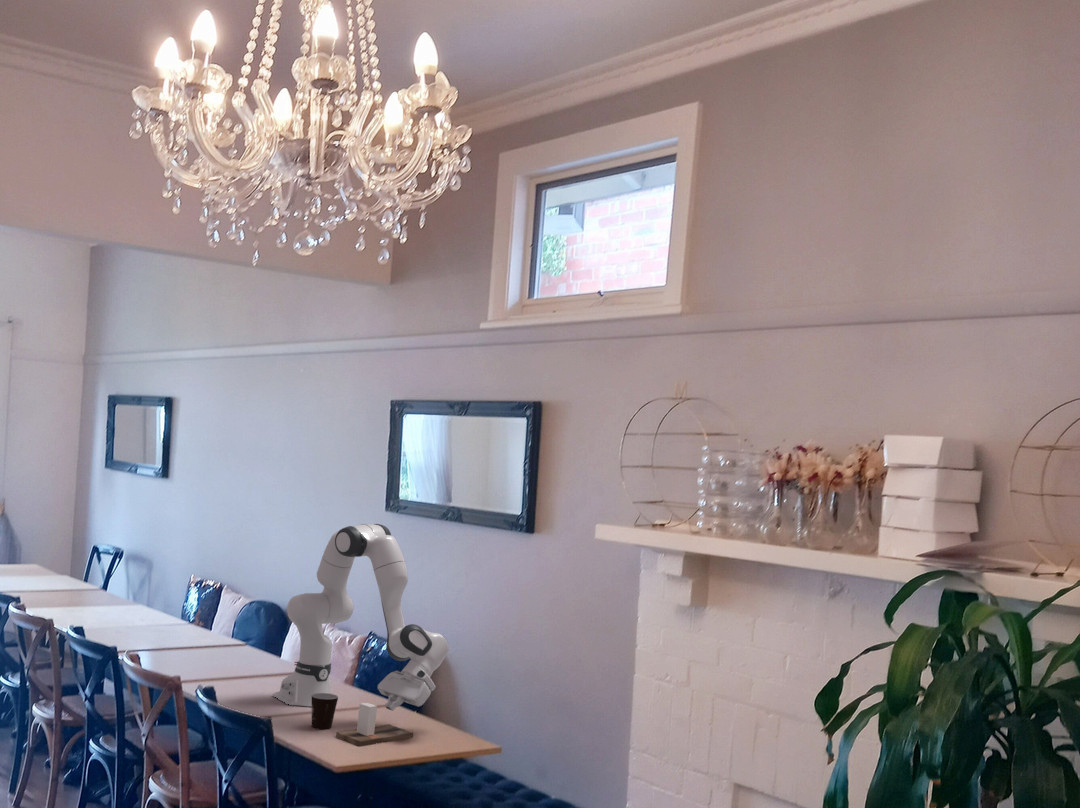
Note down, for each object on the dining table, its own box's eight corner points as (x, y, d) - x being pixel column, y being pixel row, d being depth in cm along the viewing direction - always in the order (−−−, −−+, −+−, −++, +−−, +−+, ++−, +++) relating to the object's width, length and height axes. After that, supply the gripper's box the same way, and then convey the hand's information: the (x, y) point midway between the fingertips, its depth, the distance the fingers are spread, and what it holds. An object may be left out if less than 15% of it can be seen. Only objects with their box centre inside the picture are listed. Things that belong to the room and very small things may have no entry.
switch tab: (356, 732, 322) (359, 703, 323) (363, 731, 324) (367, 702, 325) (366, 735, 319) (369, 707, 320) (373, 734, 321) (377, 706, 322)
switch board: (335, 736, 320) (336, 731, 321) (388, 728, 337) (389, 724, 337) (359, 746, 312) (360, 741, 313) (412, 737, 329) (413, 732, 329)
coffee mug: (312, 722, 335) (316, 691, 336) (338, 725, 334) (341, 695, 335) (301, 730, 324) (304, 699, 325) (327, 734, 323) (330, 702, 324)
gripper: (390, 663, 342) (364, 695, 334) (430, 675, 329) (404, 709, 321) (398, 675, 345) (372, 707, 337) (439, 688, 332) (413, 722, 324)
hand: (388, 708), depth 329 cm, fingers closed
